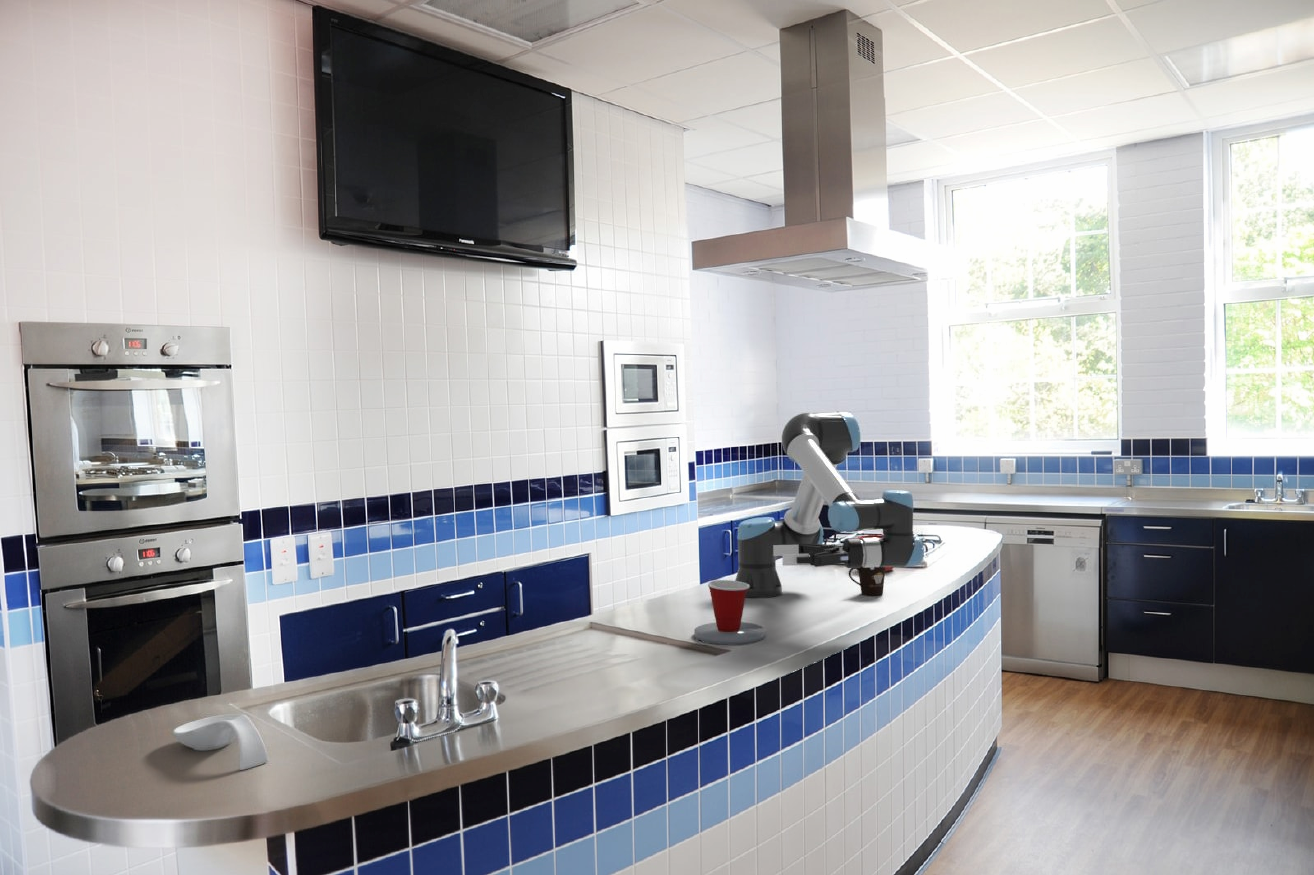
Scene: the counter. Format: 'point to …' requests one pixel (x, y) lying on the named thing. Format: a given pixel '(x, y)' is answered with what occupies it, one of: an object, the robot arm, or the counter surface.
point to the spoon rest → (225, 737)
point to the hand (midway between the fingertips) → (777, 555)
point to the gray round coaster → (730, 634)
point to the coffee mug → (870, 580)
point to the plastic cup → (728, 603)
